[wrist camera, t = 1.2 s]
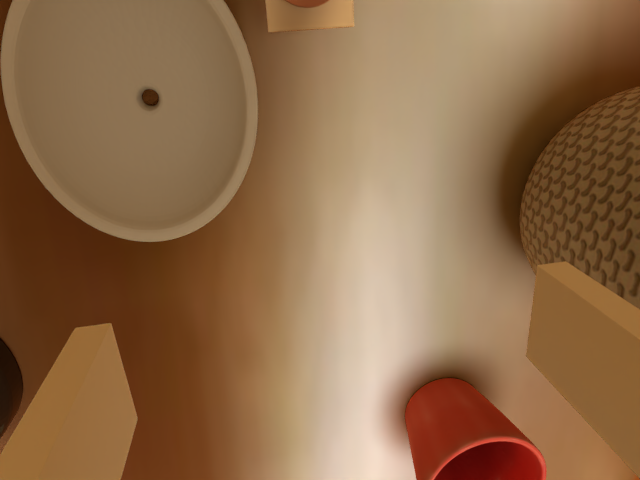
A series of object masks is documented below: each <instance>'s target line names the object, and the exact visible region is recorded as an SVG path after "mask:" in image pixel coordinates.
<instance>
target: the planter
mask: <svg viewBox="0 0 640 480" xmlns="http://www.w3.org/2000/svg"><path fill="white" fill-rule="evenodd" d="M520 232H521V239H522V244H523V248H524V251H525V254H526V257H527V259H528V261H529V263H530V265H531V268H532V270H533V272H534V273H535V275H536V273H537V265H543V264H550V263H557V262H565V261H566V262H568V263H569V264H571V265H572V266H574V267H575V268H577V269H578V270H580V271H581V272H583V273H584V274H586V275H587V276H589V277H591V278H592V279H594V280H595V281H597V282H598V283H600V284H601V285H603V286H604V287H606V288H607V289H609V290H610V291H612V292H614V293H615V294H617V295H618V296H620V297H621V298H623V299H624V300H626V301H627V302H629V303H630V304H632V305H633V306H635V307H637V308H638V309H640V86H639V87H635V88H631V89H628V90H624V91H622V92H619V93H617V94H614V95H612V96H610V97H607V98H605V99H603V100H601V101H598V102H597V103H595V104H594V105H592V106H590V107H589V108H587V109H586V110H584V111H582V112H581V113H580V114H579V115H577V116H576V117H575V118H574V119H572V120H571V121H570V122H569V123H568V124H566V125H565V126H564V127H563V128H562V129H561V130H560V131H559V132H558V133H557V134H556V135H555V136H554V137H553V138H552V140H551V141H550V142H549V143H548V145H547V146H546V148H545V149H544V150H543V152H542V153H541V154H540V156H539V158H538V160H537V161H536V163H535V165H534V167H533V168H532V170H531V173H530V175H529V178H528V180H527V183H526V185H525V189H524V193H523V197H522V201H521V210H520Z"/></svg>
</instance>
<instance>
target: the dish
mask: <svg viewBox="0 0 640 480" xmlns="http://www.w3.org/2000/svg"><path fill="white" fill-rule="evenodd" d="M1 80H2V89H3V95H4V100H5V106H6V109H7V113H8V117H9V120H10V123H11V126H12V129H13V132H14V135H15V137H16V139H17V141H18V144H19V146H20V148H21V150H22V152H23V154H24V156H25V158H26V160H27V161H28V163H29V165H30V166H31V168H32V169H33V171H34V173H35V174H36V176H37V177H38V178H39V180H40V181H41V182H42V183H43V185H44V186H45V187H46V189H47V190H48V191H49V192H50V193H51V194H52V195H53V196H54V197H55V198H56V199H57V200H58V201H59V202H60V203H61V204H62V205H63V206H64V207H65V208H66V209H67V210H69V211H70V212H71V213H72V214H74V215H75V216H76V217H78V218H79V219H81V220H82V221H84V222H85V223H87V224H89V225H91V226H92V227H94V228H96V229H98V230H100V231H103V232H105V233H107V234H110V235H113V236H116V237H119V238H123V239H127V240H132V241H141V242H157V241H166V240H171V239H175V238H178V237H182V236H185V235H187V234H189V233H191V232H194V231H196V230H197V229H199V228H201V227H202V226H204V225H206V224H207V223H208V222H210V221H211V220H212V219H214V218H215V217H216V216H217V215H218V214H219V213H220V212H221V211H222V210H223V209H224V208H225V207H226V205H227V204H228V203H229V202H230V201H231V199H232V198H233V196H234V195H235V194H236V192H237V190H238V188H239V187H240V185H241V183H242V181H243V179H244V177H245V175H246V173H247V170H248V167H249V164H250V162H251V159H252V155H253V151H254V147H255V141H256V135H257V126H258V95H257V86H256V79H255V74H254V69H253V65H252V61H251V57H250V54H249V51H248V48H247V45H246V42H245V40H244V37H243V35H242V32H241V30H240V28H239V26H238V24H237V22H236V20H235V18H234V16H233V14H232V13H231V11H230V9H229V8H228V6H227V4H226V3H225V1H224V0H13V1H12V4H11V6H10V9H9V11H8V15H7V19H6V22H5V26H4V32H3V38H2V46H1ZM146 89H152V90H154V91H156V92H157V94H158V96H159V101H158V103H157V104H156V105H154V106H149V105H147V104H145V103H144V101H143V99H142V94H143V92H144V91H145V90H146Z"/></svg>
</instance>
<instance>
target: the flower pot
mask: <svg viewBox="0 0 640 480" xmlns="http://www.w3.org/2000/svg"><path fill="white" fill-rule="evenodd" d="M405 421H406V427H407V432H408V437H409V442H410V448H411V453H412V458H413V463H414V468H415V473H416V478H417V480H545V479H546V464H545V460H544V458H543V456H542V454H541V452H540V451H539V450H538V449H537V447H536V446H535V445H534V444H533V443H532V442H531V441H530V440H529V439H528V438H527V437H526V436H525V435H524V434H523V433H522V432H521V431H520V430H519V429H518V428H517V427H516V426H515V425H514V424H513V423H512V422H511V421H510V420H509V419H508V418H507V417H506V416H504V415H503V414H502V413H501V412H500V411H499V410H498V409H497V408H496V407H495V406H494V405H493V404H492V403H491V402H489V401H488V400H487V399H486V398H485V397H484V396H483V395H482V394H480V393H479V392H478V391H477V390H476V389H475V388H474V387H473V386H472V385H470V384H469V383H467V382H465V381H463V380H460V379H455V378H443V379H438V380H435V381H432V382H430V383H428V384H426V385H424V386H423V387H421V388H420V389H419V390H418V391H417V392H416V393H415V394H414V395H413V396H412V397H411V399H410V401H409V402H408V405H407V407H406V411H405Z"/></svg>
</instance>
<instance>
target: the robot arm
mask: <svg viewBox="0 0 640 480" xmlns="http://www.w3.org/2000/svg"><path fill="white" fill-rule="evenodd" d="M526 357H527V358H528V359H529V360H530V361H531V362H532V363H533V364H534V365H535V367H536V368H537V369H538V370H539V371H540V372H541V373H542V374H543V375H544V376H545V377H546V378H547V379H548V381H549V382H550V383H551V384H552V385H553V386H554V387H555V388H556V389H557V390H558V391H559V392H560V393H561V395H562V396H563V397H564V398H565V399H566V400H567V401H568V402H569V403H570V404H571V405H572V406H573V407H574V409H575V410H576V411H577V412H578V413H579V414H580V415H581V416H582V417H583V418H584V419H585V420H586V421H587V423H588V424H589V425H590V426H591V427H592V428H593V429H594V430H595V431H596V432H597V433H598V434H599V435H600V436H601V438H602V439H603V440H604V441H605V442H606V443H607V444H608V445H609V446H610V447H611V448H612V449H613V450H614V452H615V453H616V454H617V455H618V456H619V457H620V458H621V459H622V460H623V461H624V462H625V463H626V464H627V466H628V467H629V468H630V469H631V470H632V471H633V472H634V473H635V474H636V475H637V476H638V477H639V478H640V309H638V308H637V307H635V306H633V305H632V304H630V303H629V302H627V301H626V300H624V299H623V298H621V297H620V296H618V295H617V294H615V293H614V292H612V291H610V290H609V289H607V288H606V287H604V286H603V285H601V284H600V283H598V282H597V281H595V280H594V279H592V278H591V277H589V276H587V275H586V274H584V273H583V272H581V271H580V270H578V269H577V268H575V267H574V266H572V265H571V264H569V263H568V262H566V261H565V262H557V263H550V264H543V265H537V273H536V281H535V289H534V297H533V305H532V313H531V321H530V329H529V337H528V345H527V353H526ZM21 398H22V378H21V374H20V371H19V368H18V365H17V363H16V361H15V359H14V357H13V355H12V354H11V352H10V351H9V349H8V348H7V347H6V346H5V344H4V343H3V342H2V341H1V340H0V438H1V437H2V436H3V434H4V433H5V431H6V429H7V428H8V426H9V425H10V423H11V421H12V420H13V418H14V416H15V415H16V413H17V411H18V409H19V406H20V403H21ZM137 419H138V418H137V414H136V411H135V407H134V404H133V400H132V396H131V393H130V389H129V386H128V382H127V378H126V375H125V371H124V368H123V364H122V360H121V357H120V353H119V350H118V346H117V342H116V339H115V335H114V332H113V328H112V324H111V323H107V324H100V325H93V326H85V327H78V328H75V329H74V331H73V332H72V334H71V336H70V338H69V339H68V341H67V343H66V344H65V346H64V348H63V349H62V351H61V353H60V354H59V356H58V358H57V360H56V361H55V363H54V365H53V366H52V368H51V370H50V371H49V373H48V375H47V376H46V378H45V380H44V382H43V383H42V385H41V387H40V388H39V390H38V392H37V393H36V395H35V397H34V398H33V400H32V402H31V404H30V405H29V407H28V409H27V410H26V412H25V414H24V415H23V417H22V419H21V420H20V422H19V424H18V426H17V427H16V429H15V431H14V432H13V434H12V436H11V437H10V439H9V441H8V442H7V444H6V446H5V447H4V449H3V451H2V453H1V454H0V480H121V477H122V473H123V469H124V466H125V462H126V458H127V455H128V451H129V448H130V444H131V440H132V437H133V433H134V430H135V426H136V422H137Z"/></svg>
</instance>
